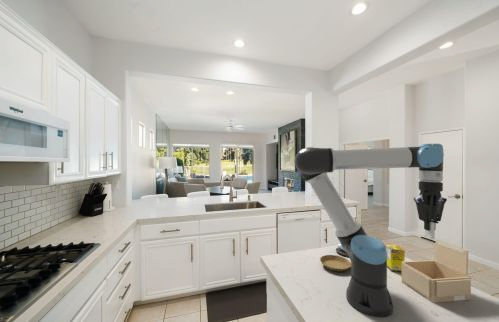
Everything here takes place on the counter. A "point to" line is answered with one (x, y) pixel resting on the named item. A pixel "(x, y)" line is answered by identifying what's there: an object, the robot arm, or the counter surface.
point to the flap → (451, 256)
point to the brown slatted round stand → (341, 250)
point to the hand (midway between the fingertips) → (429, 237)
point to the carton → (436, 281)
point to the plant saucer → (335, 262)
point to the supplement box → (395, 257)
